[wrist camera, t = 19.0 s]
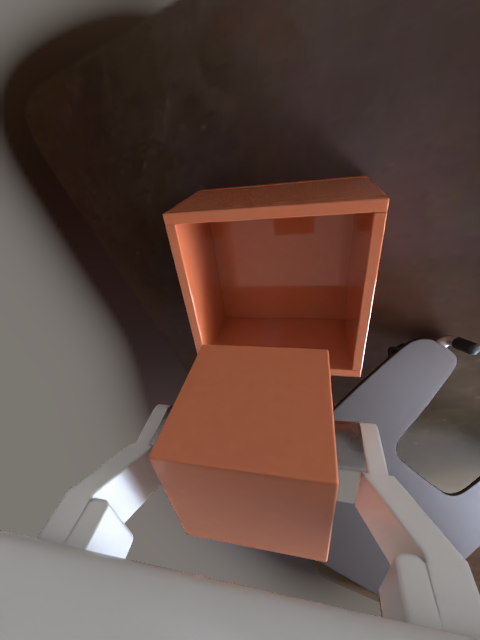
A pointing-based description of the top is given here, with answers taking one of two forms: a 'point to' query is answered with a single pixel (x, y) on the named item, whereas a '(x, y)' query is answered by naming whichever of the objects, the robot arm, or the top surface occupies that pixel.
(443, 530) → the laptop stand
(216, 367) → the terracotta block
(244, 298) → the terracotta bin
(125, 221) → the top surface
